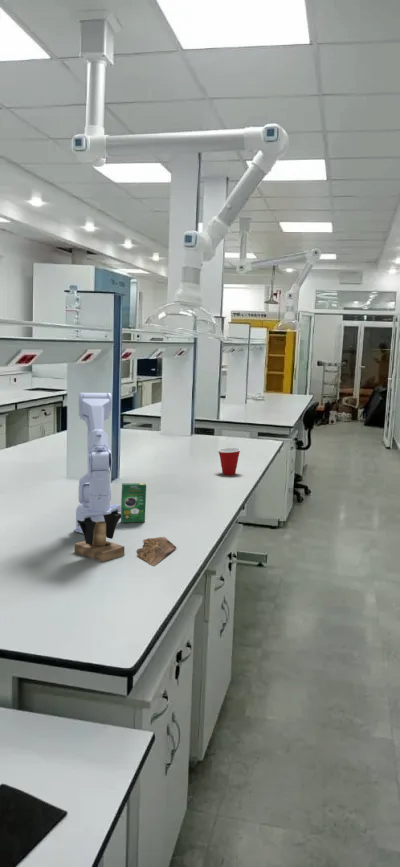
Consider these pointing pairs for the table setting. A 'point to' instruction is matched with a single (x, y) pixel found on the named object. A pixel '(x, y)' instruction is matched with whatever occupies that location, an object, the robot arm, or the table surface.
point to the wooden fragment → (155, 550)
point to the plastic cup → (229, 460)
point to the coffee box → (133, 502)
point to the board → (100, 551)
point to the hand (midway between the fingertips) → (99, 540)
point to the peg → (99, 534)
